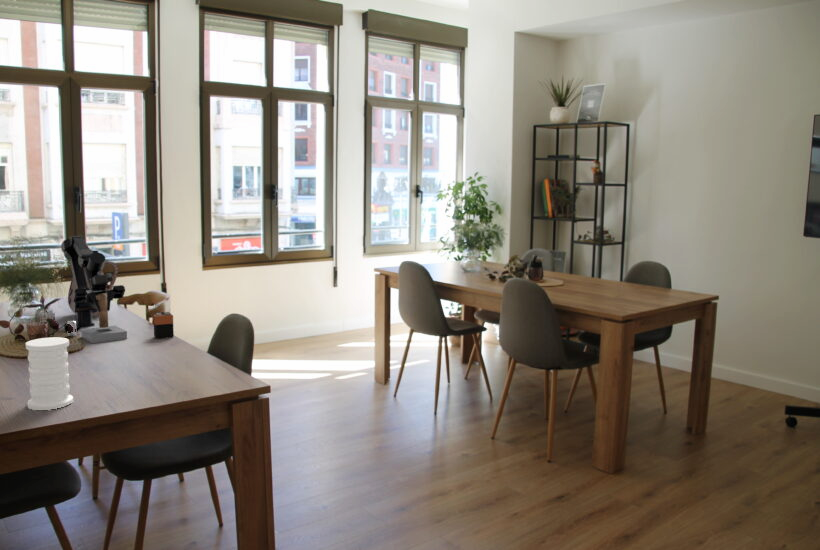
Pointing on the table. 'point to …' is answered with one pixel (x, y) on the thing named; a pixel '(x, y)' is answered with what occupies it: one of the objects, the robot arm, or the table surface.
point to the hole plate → (104, 334)
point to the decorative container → (48, 373)
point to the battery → (163, 325)
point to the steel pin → (73, 324)
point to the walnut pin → (103, 310)
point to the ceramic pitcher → (72, 285)
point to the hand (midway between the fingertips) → (104, 310)
